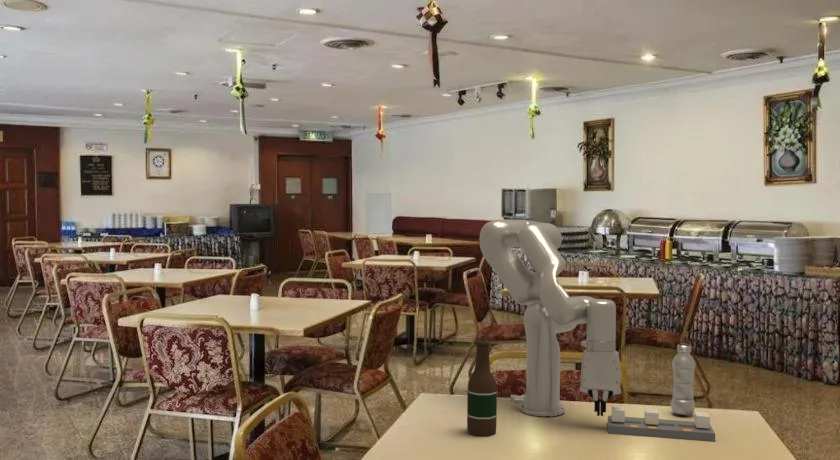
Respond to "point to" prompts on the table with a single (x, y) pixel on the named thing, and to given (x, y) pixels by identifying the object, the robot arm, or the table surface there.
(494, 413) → the beer bottle
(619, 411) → the slider
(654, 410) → the slider
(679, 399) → the plastic bottle
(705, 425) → the slider
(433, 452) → the table surface
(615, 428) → the switch deck
